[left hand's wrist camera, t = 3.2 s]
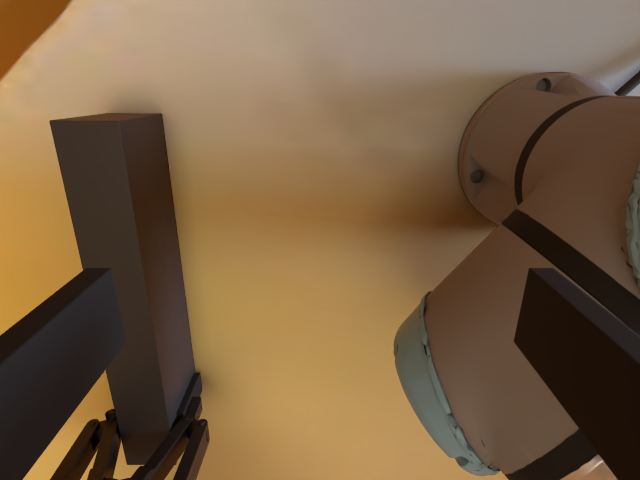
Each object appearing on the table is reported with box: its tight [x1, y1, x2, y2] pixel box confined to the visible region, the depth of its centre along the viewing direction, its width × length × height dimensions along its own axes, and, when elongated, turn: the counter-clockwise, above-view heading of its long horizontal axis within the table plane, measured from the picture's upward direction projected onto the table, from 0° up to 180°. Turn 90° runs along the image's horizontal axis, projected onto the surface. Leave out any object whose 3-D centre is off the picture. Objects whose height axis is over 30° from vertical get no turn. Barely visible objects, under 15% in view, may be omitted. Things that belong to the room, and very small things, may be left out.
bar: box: [50, 113, 195, 465], centre depth 41 cm, size 36×5×9 cm, turn 0°
